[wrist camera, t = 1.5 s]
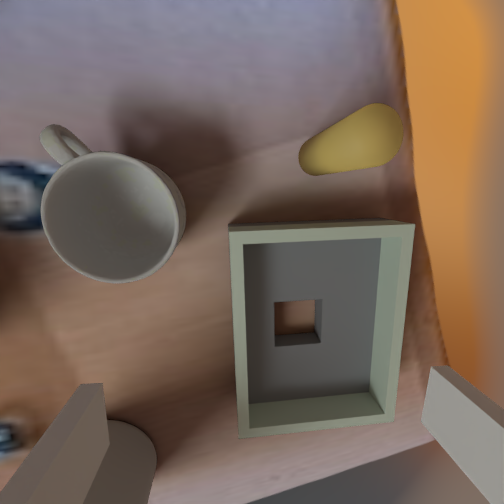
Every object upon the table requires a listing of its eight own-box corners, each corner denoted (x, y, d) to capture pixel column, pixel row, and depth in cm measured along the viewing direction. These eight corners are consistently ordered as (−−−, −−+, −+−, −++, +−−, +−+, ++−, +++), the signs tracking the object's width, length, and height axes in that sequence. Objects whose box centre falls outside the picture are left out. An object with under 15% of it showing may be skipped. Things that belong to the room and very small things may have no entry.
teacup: (206, 239, 31) (200, 256, 23) (117, 276, 31) (81, 305, 23) (150, 113, 27) (121, 83, 20) (49, 154, 27) (-20, 140, 20)
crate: (228, 223, 31) (229, 231, 25) (380, 217, 32) (415, 224, 26) (236, 398, 36) (238, 439, 30) (367, 385, 37) (393, 421, 32)
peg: (298, 137, 29) (348, 103, 18) (334, 137, 30) (406, 103, 18) (298, 176, 30) (345, 167, 19) (333, 175, 31) (400, 166, 19)
